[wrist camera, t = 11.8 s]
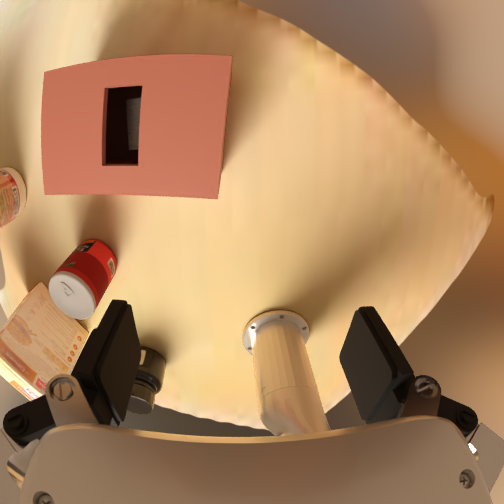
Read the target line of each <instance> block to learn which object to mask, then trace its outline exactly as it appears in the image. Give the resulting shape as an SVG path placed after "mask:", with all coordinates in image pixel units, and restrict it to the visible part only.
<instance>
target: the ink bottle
mask: <svg viewBox="0 0 504 504" xmlns="http://www.w3.org/2000/svg"><path fill="white" fill-rule="evenodd" d="M140 348H141V360H140V364H139V367H138V371H137V374H136V378H135V381H134V385H133V389H132V392H131V396H130V400H129V404H128V407H127V410H128V411H131V412H133V413H138V414H148V413H151V412H152V411H153V406H154V400H155V394H157V393H158V392H160V390H161V388H162V384H163V378H164V373H165V367H166V363H165V360H164V358H163V357H162V356H161V355H160V354H159V353H157V352H155V351H154V350H151V349H149V348H145V347H140Z"/></svg>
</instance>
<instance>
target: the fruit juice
mask: <svg viewBox="0 0 504 504" xmlns="http://www.w3.org/2000/svg"><path fill="white" fill-rule="evenodd" d="M25 203H26V187H25V184H24V181H23V179H22V177H21V175H20V174H19V173H18V172H17V171H16V170H15V169H13V168H10V167H5V168H1V169H0V229H1V228H2V227H4V226H5V225H6V224H8V223H9V222H10V221H12V220H13V219H15V218H16V217H17V216H18V215H19V214H20V213H21V212H22V211H23V209H24V207H25Z"/></svg>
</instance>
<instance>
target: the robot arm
mask: <svg viewBox="0 0 504 504" xmlns="http://www.w3.org/2000/svg"><path fill="white" fill-rule="evenodd" d="M308 338H309V327H308V324H307V322H306V321H305V319H304V318H303V317H302V316H300V315H299V314H297V313H294V312H291V311H286V310H276V311H270V312H266V313H263V314H261V315H259V316H257V317H255V318H254V319H253V320H251V321H250V322H249V323H248V324H247V326H246V327H245V329H244V332H243V345H244V347H245V349H246V350H247V351H248V352H249V353H250V354H251V355H253V364H254V374H255V383H256V393H257V402H258V411H259V416H260V419H261V421H262V423H263V424H264V426H265V427H266V428H267V429H268V430H269V431H271V432H272V433H273V434H274V435H276V436H268V437H207V436H190V435H178V434H167V433H159V432H151V431H143V430H136V429H129V428H123V427H119V424H120V421H124V419H125V415H126V411H127V407H128V404H129V400H130V396H131V392H132V389H133V385H134V381H135V378H136V374H137V371H138V367H139V364H140V360H141V348H140V344H139V339H138V335H137V331H136V326H135V321H134V317H133V312H132V307H131V305H130V304H127V301H125V300H112V301H111V303H110V305H109V307H108V309H107V310H106V312H105V314H104V316H103V318H102V320H101V322H100V324H99V326H98V328H97V329H96V328H95V329H93V331H92V332H91V334H90V336H89V338H88V340H87V342H86V344H85V346H84V348H83V350H82V352H81V354H80V356H79V358H78V360H77V362H76V364H75V366H74V369H73V371H72V373H71V375H68V374H59V375H56V376H54V377H52V378H51V379H50V380H49V381H48V383H47V384H46V387H45V395H43V396H40V397H38V398H36V399H34V400H32V401H29V402H27V403H25V404H23V405H20V406H18V407H16V408H13V409H11V410H10V411H9V412H8V413H7V414H6V415H5V417H4V420H3V427H2V428H1V429H0V504H492V500H491V497H490V494H489V493H490V491H491V489H492V487H493V485H494V484H495V481H496V480H497V478H498V476H499V474H500V472H501V469H502V468H503V465H504V440H503V439H502V438H501V437H499V436H498V435H497V434H496V433H494V432H493V431H492V430H490V429H489V428H488V427H487V426H485V425H484V424H483V423H482V422H481V423H480V424H478V418H477V415H476V413H475V412H474V411H473V410H472V409H471V408H469V407H467V406H465V405H463V404H460V403H458V402H456V401H454V400H451V399H449V398H447V397H445V396H442V395H441V387H440V385H439V383H438V382H437V381H436V380H435V379H434V378H432V377H430V376H427V375H419V376H416V377H415V376H414V374H413V373H414V372H413V370H412V368H411V367H410V365H409V363H408V361H407V360H406V358H405V357H404V355H403V353H402V351H401V350H400V348H399V346H398V345H397V343H396V341H395V340H394V338H393V337H392V335H391V333H390V332H389V330H388V328H387V327H386V325H385V324H384V322H383V321H382V319H381V317H380V316H379V314H378V313H377V311H376V310H375V308H374V307H372V306H367V307H360V308H359V309H358V310H356V311H355V313H354V316H353V319H352V322H351V325H350V328H349V331H348V333H347V336H346V339H345V342H344V344H343V347H342V350H341V352H340V363H341V365H342V368H343V370H344V373H345V375H346V378H347V381H348V383H349V386H350V389H351V391H352V394H353V396H354V399H355V402H356V405H357V407H358V410H359V413H360V415H361V418H362V419H363V420H365V421H366V424H367V425H361V426H356V427H350V428H344V429H338V430H330V428H329V425H328V422H327V419H326V417H325V413H324V410H323V407H322V403H321V400H320V396H319V392H318V389H317V385H316V382H315V378H314V375H313V371H312V368H311V364H310V361H309V357H308V354H307V350H306V347H305V344H306V343H307V341H308Z"/></svg>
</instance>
